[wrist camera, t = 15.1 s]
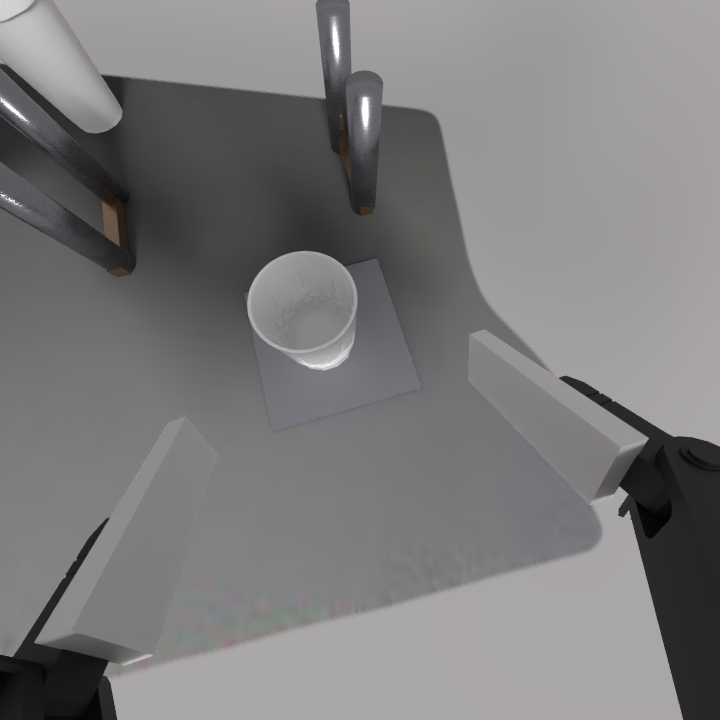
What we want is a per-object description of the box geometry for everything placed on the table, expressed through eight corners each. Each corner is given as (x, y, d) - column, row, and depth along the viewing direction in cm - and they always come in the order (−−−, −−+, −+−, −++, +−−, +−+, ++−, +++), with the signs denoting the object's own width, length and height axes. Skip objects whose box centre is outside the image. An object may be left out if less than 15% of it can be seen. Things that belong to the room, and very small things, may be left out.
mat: (273, 431, 26) (272, 431, 26) (245, 294, 30) (243, 292, 29) (421, 388, 27) (421, 387, 27) (376, 259, 31) (377, 257, 30)
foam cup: (87, 153, 34) (-72, -1, 22) (52, 116, 36) (-116, -49, 23) (146, 115, 36) (29, -50, 23) (111, 81, 37) (-18, -92, 25)
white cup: (304, 297, 29) (275, 237, 19) (369, 320, 28) (373, 270, 19) (275, 361, 27) (227, 329, 18) (343, 387, 27) (332, 369, 17)
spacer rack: (111, 278, 30) (-47, 190, 19) (104, 191, 33) (-37, 66, 21) (378, 211, 32) (387, 93, 20) (350, 134, 35) (344, -9, 23)
